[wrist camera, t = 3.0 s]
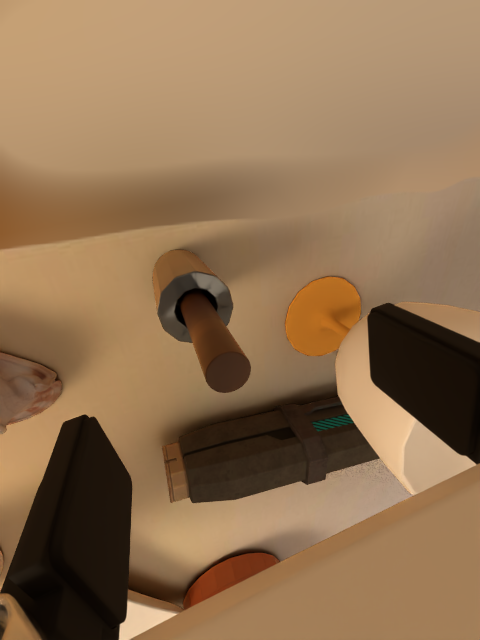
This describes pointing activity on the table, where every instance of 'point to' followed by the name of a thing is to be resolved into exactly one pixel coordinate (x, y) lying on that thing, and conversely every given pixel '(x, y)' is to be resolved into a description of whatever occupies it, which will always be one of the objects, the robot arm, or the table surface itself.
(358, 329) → the cup
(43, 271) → the table surface
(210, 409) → the table surface
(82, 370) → the table surface
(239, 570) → the bowl
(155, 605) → the salad plate
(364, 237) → the table surface
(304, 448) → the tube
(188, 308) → the stick
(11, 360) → the seashell
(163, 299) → the holder
